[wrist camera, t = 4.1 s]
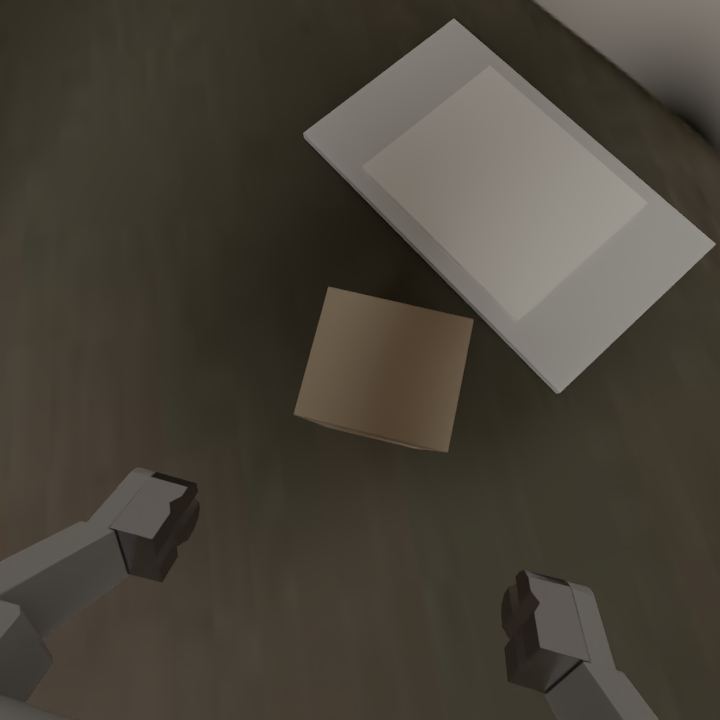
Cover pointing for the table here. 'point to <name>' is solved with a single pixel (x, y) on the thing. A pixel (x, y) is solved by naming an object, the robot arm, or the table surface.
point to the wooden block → (385, 370)
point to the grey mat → (509, 201)
